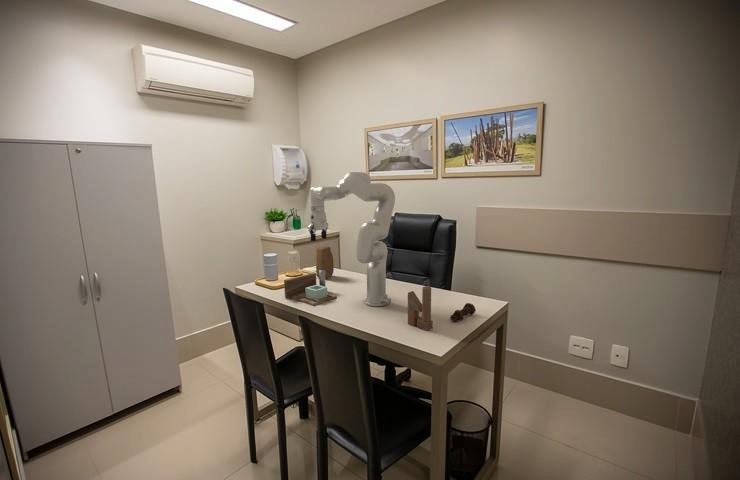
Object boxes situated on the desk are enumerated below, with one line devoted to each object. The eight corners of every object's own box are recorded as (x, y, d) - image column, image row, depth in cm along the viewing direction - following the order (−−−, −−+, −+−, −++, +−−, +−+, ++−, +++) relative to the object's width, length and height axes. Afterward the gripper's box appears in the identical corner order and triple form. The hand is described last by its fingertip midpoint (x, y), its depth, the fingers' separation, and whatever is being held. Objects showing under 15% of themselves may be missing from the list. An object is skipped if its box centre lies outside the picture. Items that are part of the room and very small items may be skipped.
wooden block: (412, 321, 156) (413, 282, 154) (432, 328, 149) (433, 287, 146) (407, 324, 154) (407, 283, 151) (427, 331, 146) (428, 289, 143)
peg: (327, 291, 202) (326, 270, 200) (322, 292, 200) (321, 271, 198) (323, 290, 205) (322, 269, 203) (318, 291, 202) (317, 270, 200)
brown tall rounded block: (323, 280, 226) (322, 248, 223) (315, 278, 230) (314, 247, 227) (335, 276, 234) (334, 246, 231) (327, 274, 239) (326, 245, 236)
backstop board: (339, 297, 192) (339, 278, 190) (309, 306, 177) (309, 287, 175) (311, 288, 208) (310, 271, 206) (281, 296, 193) (281, 279, 191)
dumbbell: (451, 326, 156) (468, 315, 166) (460, 323, 152) (477, 313, 163) (445, 313, 157) (463, 304, 168) (454, 310, 154) (471, 301, 164)
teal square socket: (327, 296, 189) (327, 287, 188) (315, 300, 183) (315, 290, 182) (317, 293, 194) (317, 284, 194) (305, 297, 188) (305, 287, 188)
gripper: (313, 210, 191) (314, 242, 194) (332, 208, 206) (333, 238, 208) (302, 210, 195) (303, 241, 197) (321, 208, 209) (322, 237, 212)
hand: (318, 239), depth 203 cm, fingers open, 9 cm apart
